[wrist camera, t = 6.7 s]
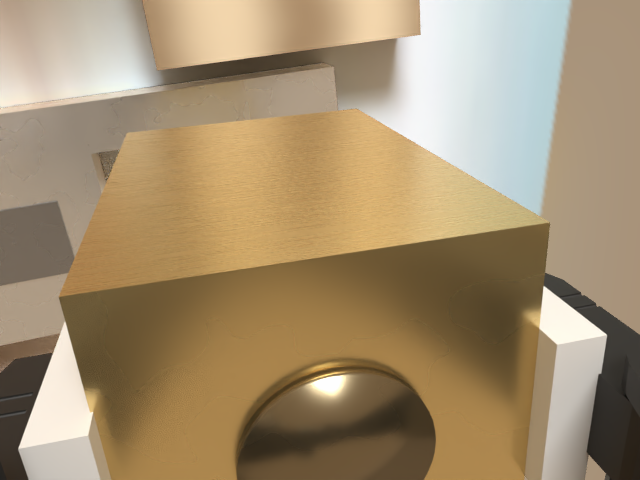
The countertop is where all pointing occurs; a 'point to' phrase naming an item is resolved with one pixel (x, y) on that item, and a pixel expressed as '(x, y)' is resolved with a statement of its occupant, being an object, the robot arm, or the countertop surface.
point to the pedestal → (269, 27)
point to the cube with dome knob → (305, 307)
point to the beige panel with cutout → (88, 177)
